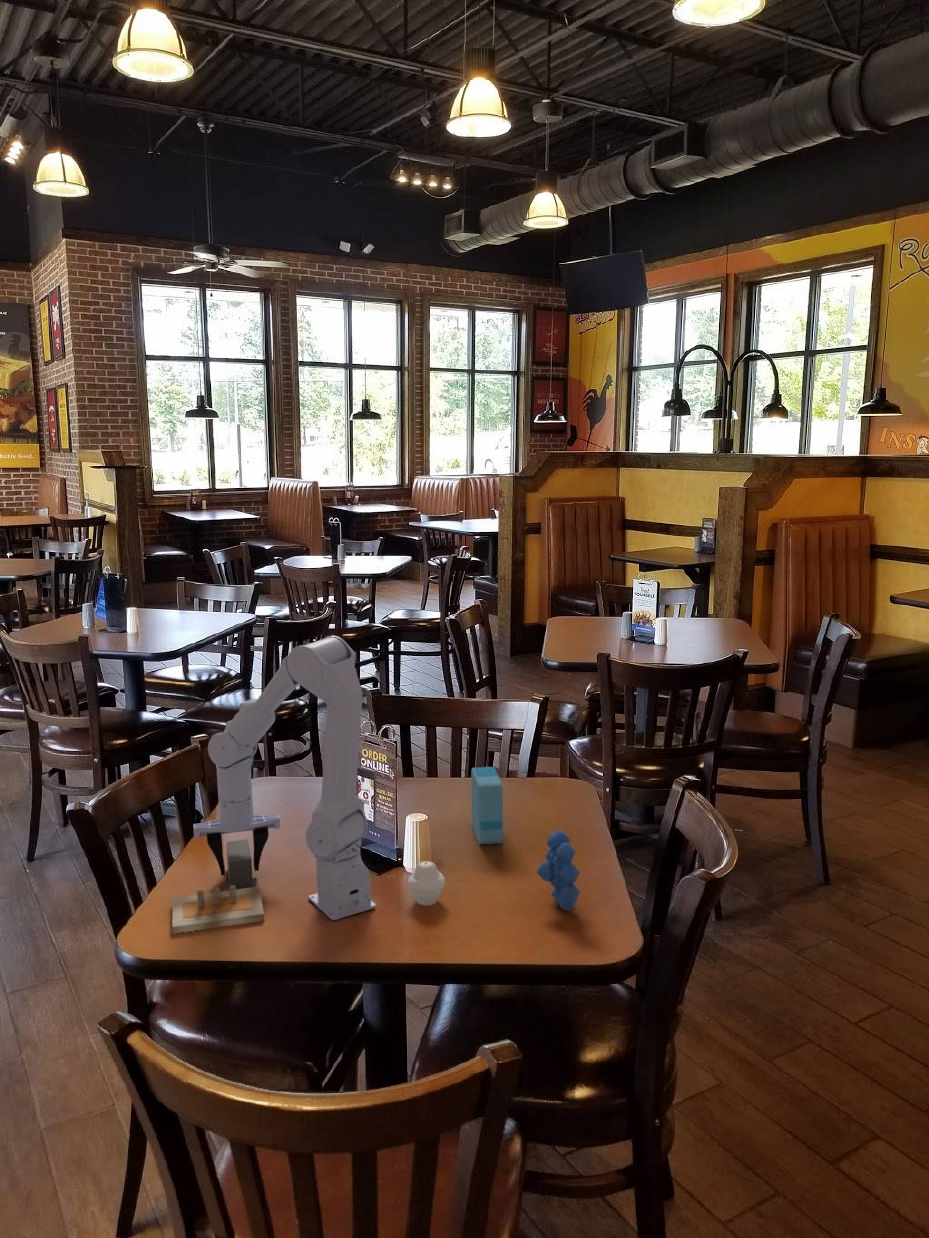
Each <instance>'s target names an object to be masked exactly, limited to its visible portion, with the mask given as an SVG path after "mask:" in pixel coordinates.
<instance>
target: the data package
mask: <svg viewBox="0 0 929 1238" xmlns="http://www.w3.org/2000/svg"><path fill="white" fill-rule="evenodd" d="M470 772H471V774H470V775H471V776H470V777H471V824H472V826H473V830H474V833H475V834H474V835H475V837H476V839H477V843H478V845H494V844H503V841H504V818H503V817H504V816H503V815H504V814H503V813H504V812H503V811H504V808H503V807H504V805H503V801H504V792H503V790H504V789H503V785H502V784H503V783H502V781H501V779H500V777H499V774H498V772H497V770H496V767H495V766H483V767H481V766H480V767H472V768H471V770H470Z"/></svg>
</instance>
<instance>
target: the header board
mask: <svg viewBox="0 0 929 1238" xmlns="http://www.w3.org/2000/svg"><path fill="white" fill-rule="evenodd" d="M228 889H229V890H224V891H221V890H220V887H219V886H218V887H217V886H215V887H214V888H213V889H212V890H213V891H212V892H208V893H204V892H205V891H204V889H198V890H196V894H194V895H186V896H180V897H174V898H173V897H172V907H171V908H172V910H171V911H172V912H171V913H172V915H171V916H172V917H171V919H172V921H171V922H172V923H171V925H172V926H171V929H172V935H177V934H176V933H178V934H181V933H180V932H184V933H190V932H189V931H191V932H196V931H195V930H198V931H203V929H204V931H205V930H210V929H211V930H212V929H216V928H224V927H230V926H231V927H232V926H237V925H238V926H239V925H244V924H251V923H257V922H264V921H265V912H264V907H263V902H262V896H261V891H260V886H253V887H251V888H244V889H237V890H236V888H235V885H231V886H230V885H229V886H228Z"/></svg>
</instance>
